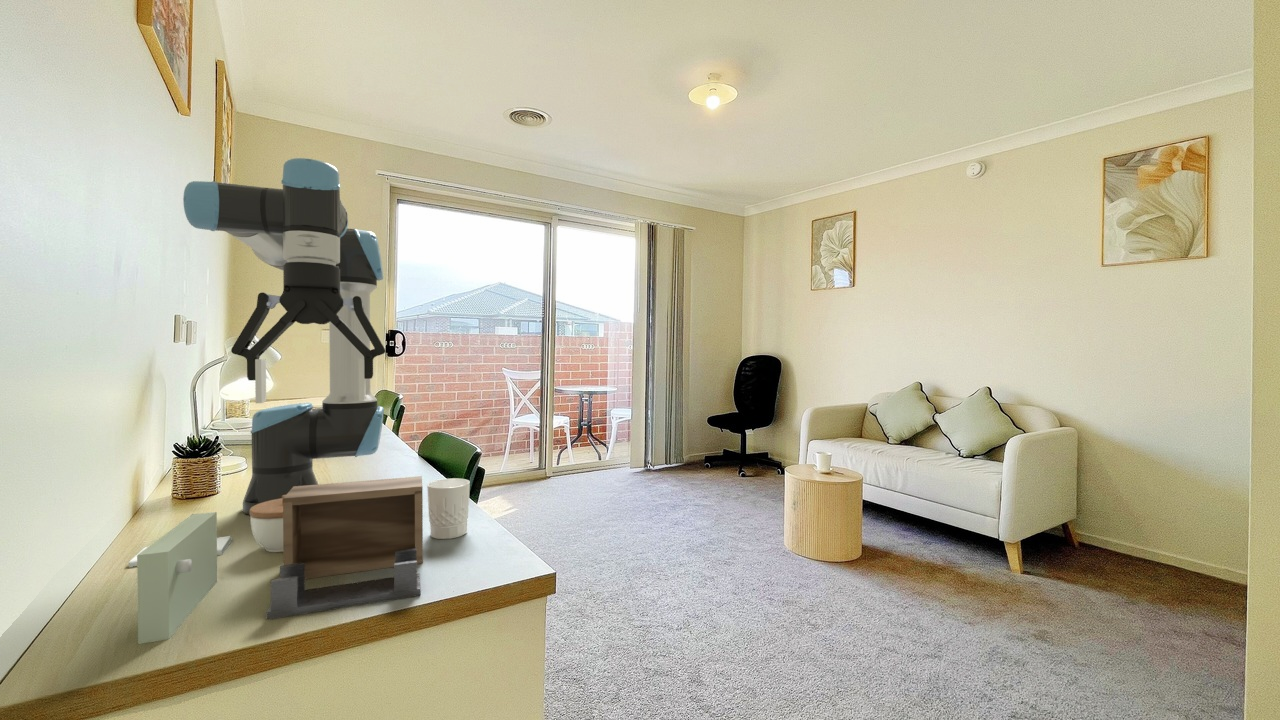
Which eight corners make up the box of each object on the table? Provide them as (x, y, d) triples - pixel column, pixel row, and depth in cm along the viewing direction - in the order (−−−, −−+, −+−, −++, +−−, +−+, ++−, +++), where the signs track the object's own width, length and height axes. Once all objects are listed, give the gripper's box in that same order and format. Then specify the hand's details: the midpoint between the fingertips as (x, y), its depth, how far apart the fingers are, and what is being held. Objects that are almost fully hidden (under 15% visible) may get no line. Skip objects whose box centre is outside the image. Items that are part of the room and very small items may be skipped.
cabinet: (294, 563, 91) (293, 486, 91) (421, 547, 99) (421, 476, 99) (283, 582, 84) (283, 498, 84) (422, 562, 92) (422, 486, 92)
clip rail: (277, 600, 78) (276, 565, 78) (420, 579, 85) (419, 547, 85) (266, 619, 72) (266, 582, 72) (420, 595, 80) (420, 561, 79)
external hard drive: (222, 558, 95) (128, 571, 90) (231, 543, 103) (145, 554, 97) (222, 549, 95) (128, 561, 89) (231, 534, 103) (145, 545, 97)
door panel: (193, 585, 83) (192, 514, 83) (226, 581, 84) (226, 511, 84) (138, 644, 66) (137, 555, 66) (181, 637, 68) (180, 550, 68)
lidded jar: (286, 559, 93) (285, 505, 93) (234, 554, 95) (233, 501, 95) (333, 538, 104) (332, 489, 103) (285, 534, 106) (285, 486, 106)
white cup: (420, 533, 106) (419, 483, 106) (457, 524, 112) (457, 476, 112) (439, 543, 101) (439, 490, 101) (477, 533, 107) (477, 482, 107)
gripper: (204, 254, 76) (205, 406, 76) (400, 265, 85) (400, 400, 85) (221, 262, 82) (222, 401, 83) (401, 271, 92) (401, 396, 92)
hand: (313, 401), depth 84 cm, fingers open, 13 cm apart
